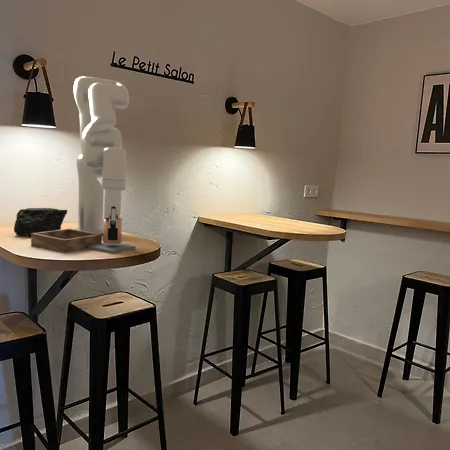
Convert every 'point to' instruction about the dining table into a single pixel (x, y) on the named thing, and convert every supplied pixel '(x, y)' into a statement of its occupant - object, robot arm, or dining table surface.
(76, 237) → the brown wooden tray
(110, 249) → the mat
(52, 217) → the rock
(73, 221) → the dining table surface
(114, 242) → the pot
